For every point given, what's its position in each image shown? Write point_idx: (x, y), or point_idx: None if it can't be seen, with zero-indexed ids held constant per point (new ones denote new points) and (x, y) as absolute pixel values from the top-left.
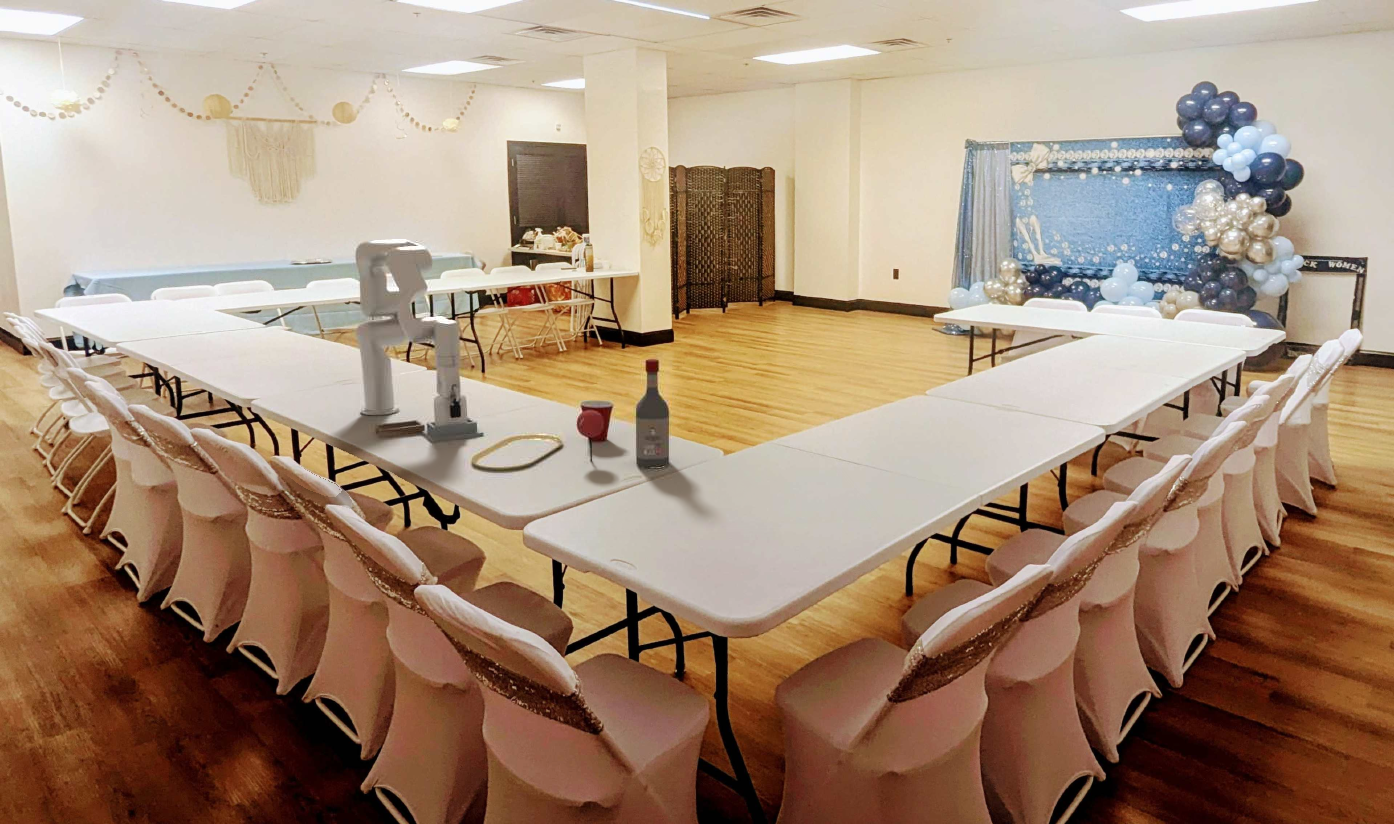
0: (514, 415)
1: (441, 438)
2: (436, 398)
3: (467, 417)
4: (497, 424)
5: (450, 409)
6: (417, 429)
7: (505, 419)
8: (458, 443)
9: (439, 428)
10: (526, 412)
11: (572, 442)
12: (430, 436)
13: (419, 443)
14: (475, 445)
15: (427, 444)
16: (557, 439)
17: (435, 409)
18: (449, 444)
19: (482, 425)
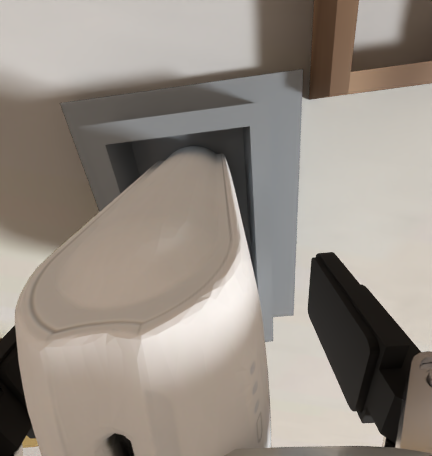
0: (351, 416)
1: (81, 158)
2: (20, 346)
3: (268, 335)
4: (276, 371)
5: (9, 332)
6: (323, 37)
7: (322, 395)
8: (42, 220)
9: (97, 167)
10: (361, 438)
11: (24, 448)
12: (136, 102)
13: (68, 10)
14: (5, 272)
15: (38, 63)
16: (30, 440)
17: (127, 200)
18: (28, 181)
19: (290, 338)
